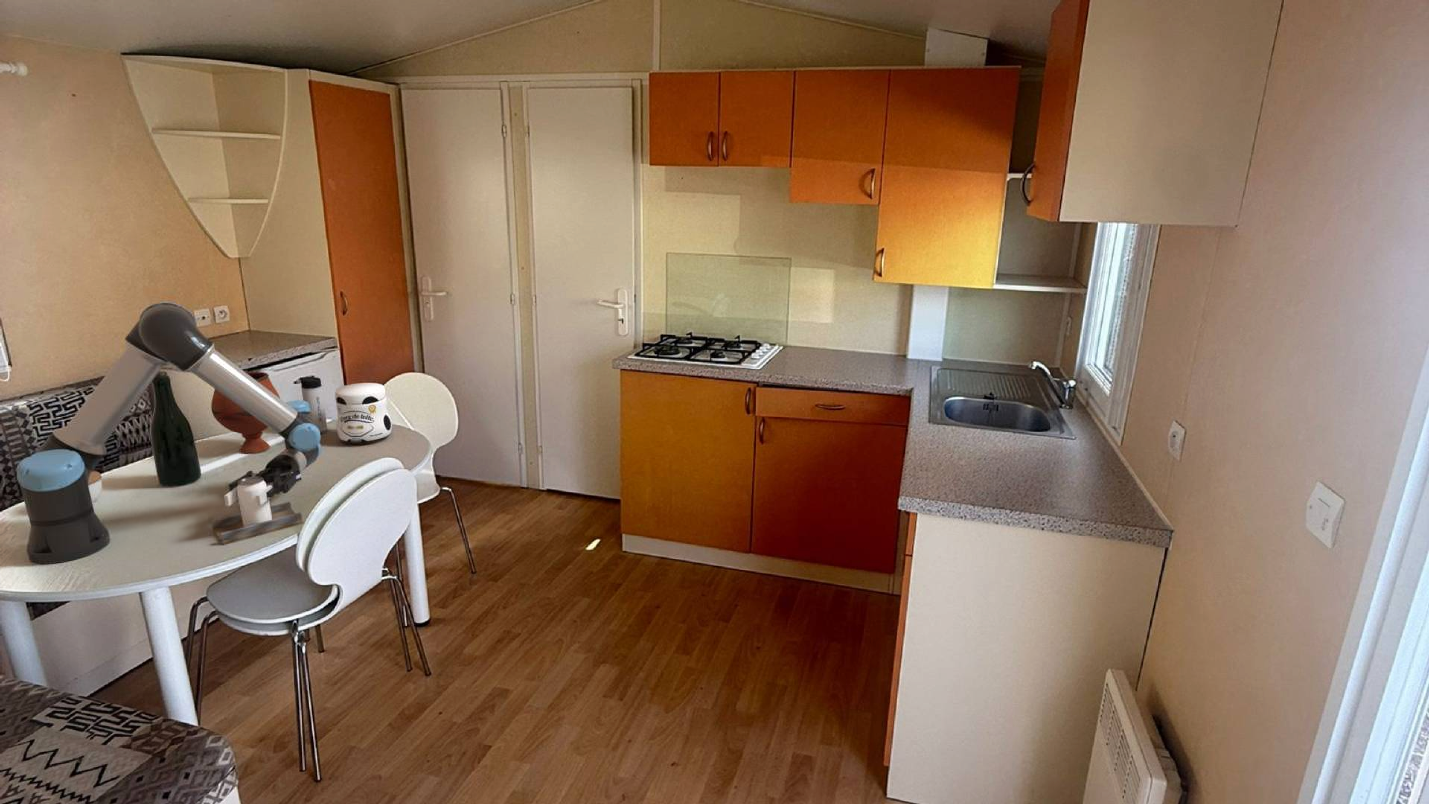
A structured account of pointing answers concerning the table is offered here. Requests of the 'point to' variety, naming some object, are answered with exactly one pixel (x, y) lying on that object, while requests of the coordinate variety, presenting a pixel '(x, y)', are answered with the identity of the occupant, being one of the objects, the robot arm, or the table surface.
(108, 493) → the table surface
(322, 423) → the travel mug
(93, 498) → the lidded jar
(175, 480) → the dark green bottle
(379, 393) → the milk container
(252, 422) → the goblet
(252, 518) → the can
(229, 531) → the track
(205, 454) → the table surface
